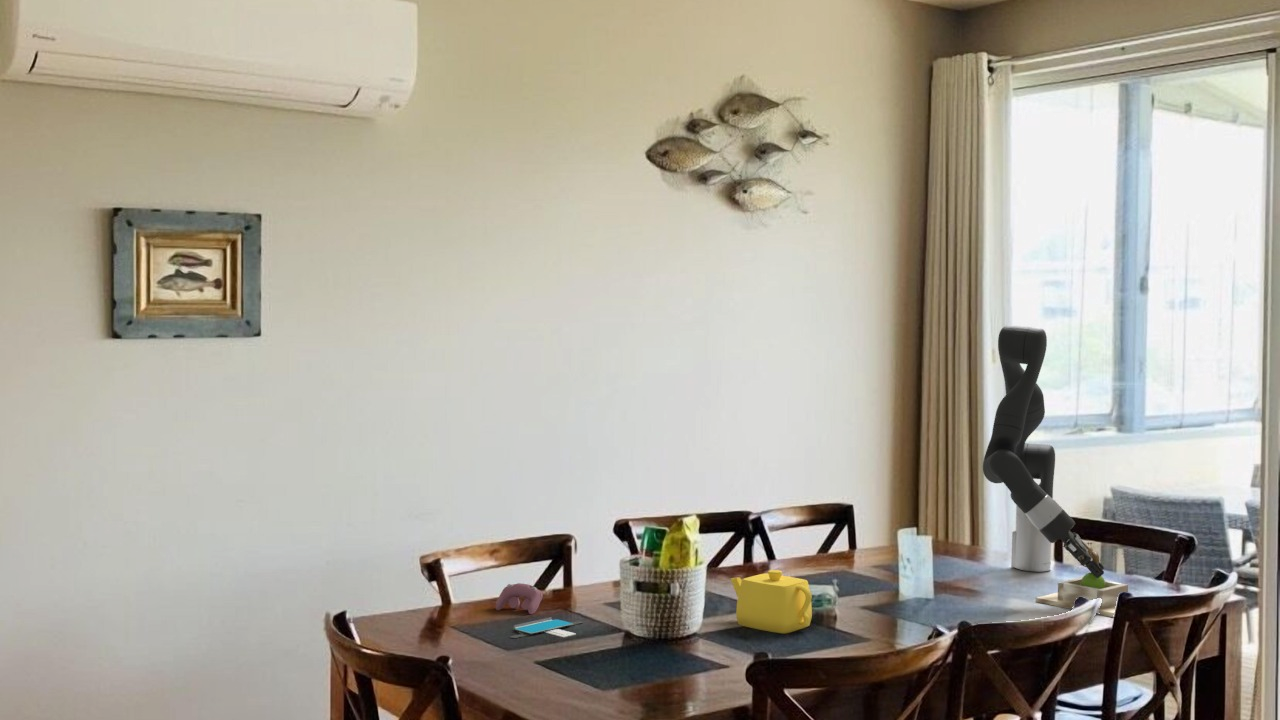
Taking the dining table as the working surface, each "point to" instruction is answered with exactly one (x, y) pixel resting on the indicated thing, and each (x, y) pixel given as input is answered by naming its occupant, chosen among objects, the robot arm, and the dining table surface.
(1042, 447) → the robot arm
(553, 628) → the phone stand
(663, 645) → the dining table surface
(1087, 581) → the snail figurine
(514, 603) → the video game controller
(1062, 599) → the wooden box tray
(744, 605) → the teapot
